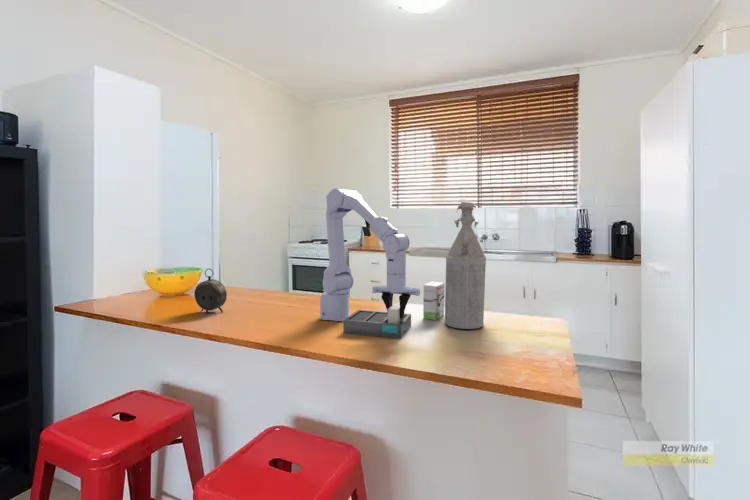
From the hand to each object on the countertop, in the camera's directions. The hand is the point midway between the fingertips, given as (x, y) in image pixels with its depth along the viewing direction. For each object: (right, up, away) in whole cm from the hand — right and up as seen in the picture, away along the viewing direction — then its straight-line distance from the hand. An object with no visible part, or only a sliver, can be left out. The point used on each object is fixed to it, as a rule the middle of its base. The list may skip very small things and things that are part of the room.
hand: (395, 317), depth 119 cm
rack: (-5, -4, +2) cm, 7 cm away
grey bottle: (+23, -4, +8) cm, 25 cm away
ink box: (+14, -3, +17) cm, 23 cm away
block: (0, -3, 0) cm, 3 cm away
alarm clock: (-66, -3, +23) cm, 70 cm away
